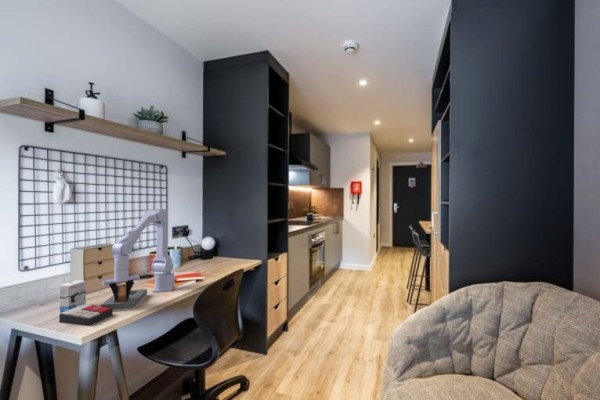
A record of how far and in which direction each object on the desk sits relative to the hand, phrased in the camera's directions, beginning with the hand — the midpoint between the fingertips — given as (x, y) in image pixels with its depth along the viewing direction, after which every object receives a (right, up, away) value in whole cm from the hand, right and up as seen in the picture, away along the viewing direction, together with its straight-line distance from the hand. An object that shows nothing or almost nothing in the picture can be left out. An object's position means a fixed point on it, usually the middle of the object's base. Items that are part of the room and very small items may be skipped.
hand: (121, 298), depth 135 cm
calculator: (-6, -4, -13) cm, 15 cm away
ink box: (-20, -4, -3) cm, 20 cm away
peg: (0, -2, 0) cm, 2 cm away
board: (-1, -4, +5) cm, 6 cm away
